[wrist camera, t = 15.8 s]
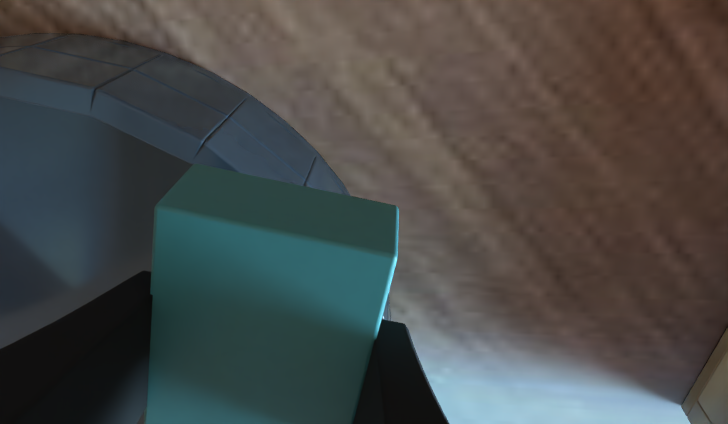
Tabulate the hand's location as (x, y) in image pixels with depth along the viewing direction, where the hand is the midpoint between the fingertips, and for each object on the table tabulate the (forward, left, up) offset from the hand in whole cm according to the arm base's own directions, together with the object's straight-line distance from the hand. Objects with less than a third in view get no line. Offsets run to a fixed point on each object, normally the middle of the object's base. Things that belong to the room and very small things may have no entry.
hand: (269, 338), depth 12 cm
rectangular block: (0, 0, -1) cm, 1 cm away
